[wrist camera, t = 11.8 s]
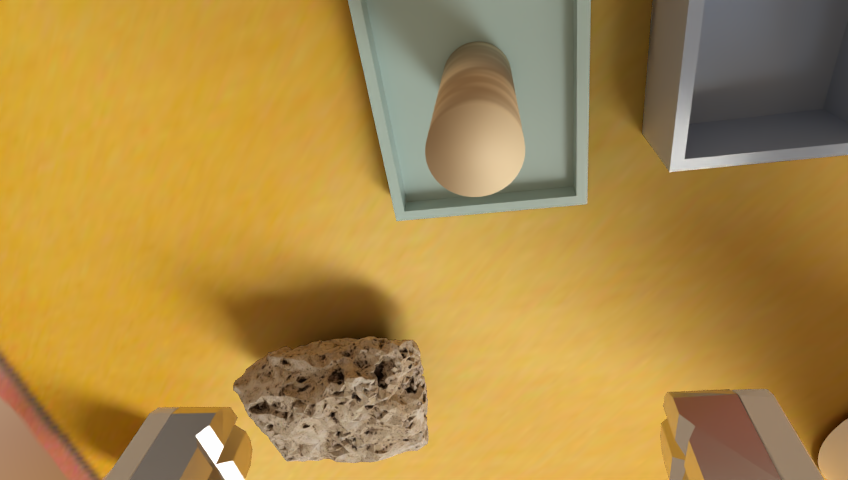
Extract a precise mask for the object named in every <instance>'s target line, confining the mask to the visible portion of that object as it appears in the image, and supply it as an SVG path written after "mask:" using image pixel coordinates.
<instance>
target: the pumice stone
mask: <svg viewBox="0 0 848 480" xmlns="http://www.w3.org/2000/svg"><path fill="white" fill-rule="evenodd" d="M422 374H423V367H422V364H421V359H420V351H419V348H418V346H417V344H416V343H415V342H414V341H413V340H402V341H399V340H387V338H376V337H375V336H372V337H365V338H361V339H352V338H348V337H347V338H343V339H332V340H327V341H321V340H320V341H316V342H312V343H310V344H308V345H306V346H299V347H297V348H295V349H293V350H292V349H291V348H289V347H287V346H286V347H282V348H280V349H279V350H276V351H273V352H268V355H267V356H265V357H263V358H262V359H260V360H257V361H256V362H255V363H254V364H253V365H251V366H250V367H249V368H247V369H246V371H245V373H244V374H243V375H242V376H241V377H240V378H238V379H237V380H236V381H235V382H234V385H233V390H234V391H235V392H236V393H237V394H238V395H239V397H240V399H241V401H242V402H243V404H244V407H245V410H246V412H247V414H248V415H249V417H250V418H251V419H252V420H253V421H254V422H255V424H256V425H257V426H258V427H259V428H260V429H261V431H262V432H263V433H264V434H266V435H267V436H268V437H269V439H270V441H271V442H272V443H273V444H274V446H275V447H276V448H277V450H278V451H279V452H280V453H281V455H282V456H283V457H284V459H285V460H286V461H307V460H315V461H319V460H322V459H332V460H334V461H336V462H349V463H357V462H375V461H379V460H382V459H386V458H389V457H392V456H394V455H396V454H400V453H403V452H406V451H417V450H419V449H420V448H422V447H423V446H425V445H426V444H427V443H428V427H427V417H426V414H427V403H428V399H427V390H426V383H425V378H424V376H422Z"/></svg>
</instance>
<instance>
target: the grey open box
mask: <svg viewBox="0 0 848 480" xmlns="http://www.w3.org/2000/svg"><path fill="white" fill-rule="evenodd" d="M642 134H643V136H644V137H645V138H646V140H647V141H648V143H649V144H650V145H651V147H652V148H653V150H654V151H655V152H656V154H657V155H658V157H659V158H660V159H661V161H662V162H663V164H664V165H665V166H666V168H667V169H668V171H669V172H676V171H686V170H696V169H707V168H717V167H728V166H738V165H748V164H759V163H769V162H780V161H790V160H800V159H811V158H821V157H832V156H842V155H848V0H652V12H651V25H650V37H649V50H648V63H647V76H646V89H645V101H644V114H643V127H642Z"/></svg>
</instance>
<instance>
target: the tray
mask: <svg viewBox="0 0 848 480" xmlns="http://www.w3.org/2000/svg"><path fill="white" fill-rule="evenodd" d="M348 4H349V8H350V13H351V17H352V22H353V26H354V31H355V35H356V40H357V44H358V49H359V53H360V58H361V62H362V67H363V71H364V76H365V81H366V85H367V90H368V94H369V99H370V103H371V108H372V112H373V117H374V121H375V126H376V130H377V135H378V139H379V144H380V148H381V153H382V158H383V162H384V167H385V171H386V176H387V180H388V185H389V189H390V194H391V198H392V203H393V207H394V212H395V216H396V221H402V220H414V219H425V218H436V217H448V216H459V215H470V214H482V213H493V212H504V211H516V210H527V209H538V208H550V207H561V206H572V205H584V204H587V191H588V135H589V79H590V23H591V0H348ZM476 41H481V42H487V43H490V44H492V45H494V46H496V47H497V48H499V49H500V50H501V51H502V52H503V53H504V54H505V56H506V57H507V59H508V61H509V64H510V67H511V72H512V77H513V83H514V88H515V93H516V99H517V104H518V109H519V115H520V120H521V125H522V131H523V136H524V141H525V158H524V162H523V165H522V168H521V170H520V172H519V173H518V175H517V176H516V178H515V179H514V180H513V181H512V182H511V183H510V184H509V185H508V186H506V187H505V188H504V189H502V190H500V191H498V192H496V193H494V194H491V195H487V196H482V197H467V196H462V195H458V194H455V193H453V192H451V191H449V190H447V189H446V188H444V187H443V186H442V185H440V184H439V183H438V182H437V181H436V179H435V178H434V177H433V175H432V174H431V172H430V170H429V168H428V165H427V162H426V157H425V146H426V140H427V136H428V132H429V128H430V124H431V120H432V116H433V111H434V107H435V103H436V99H437V95H438V91H439V87H440V83H441V79H442V74H443V70H444V67H445V64H446V62H447V60H448V58H449V56H450V55H451V54H452V53H453V52H454V51H455V50H456V49H457V48H459V47H460V46H462V45H464V44H466V43H470V42H476Z"/></svg>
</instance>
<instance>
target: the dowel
mask: <svg viewBox="0 0 848 480" xmlns="http://www.w3.org/2000/svg"><path fill="white" fill-rule="evenodd" d="M425 157H426V162H427V165H428V168H429V170H430V172H431V174H432V175H433V177H434V178H435V179H436V181H437V182H438V183H439V184H440V185H442V186H443V187H444V188H446V189H447V190H449V191H451V192H453V193H455V194H458V195H462V196H467V197H482V196H487V195H491V194H494V193H496V192H498V191H500V190H502V189H504V188H505V187H506V186H508V185H509V184H510V183H511V182H512V181H513V180H514V179H515V178H516V176H517V175H518V173H519V172H520V170H521V168H522V165H523V162H524V158H525V141H524V136H523V131H522V125H521V120H520V115H519V109H518V104H517V99H516V93H515V88H514V83H513V77H512V72H511V67H510V64H509V61H508V59H507V57H506V56H505V54H504V53H503V52H502V51H501V50H500V49H499V48H497V47H496V46H494V45H492V44H490V43H487V42H481V41H476V42H470V43H466V44H464V45H462V46H460V47H459V48H457V49H456V50H455V51H454V52H453V53H452V54H451V55H450V56H449V58H448V60H447V62H446V64H445V67H444V70H443V74H442V79H441V83H440V87H439V91H438V95H437V99H436V103H435V107H434V111H433V116H432V120H431V124H430V128H429V132H428V136H427V140H426V146H425Z"/></svg>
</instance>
